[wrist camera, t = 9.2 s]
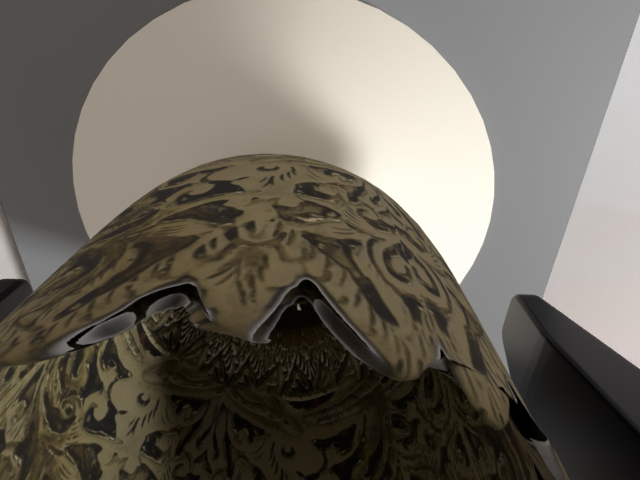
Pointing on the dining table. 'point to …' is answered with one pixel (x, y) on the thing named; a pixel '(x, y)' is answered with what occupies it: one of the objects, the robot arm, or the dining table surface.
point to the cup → (260, 344)
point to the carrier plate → (315, 114)
